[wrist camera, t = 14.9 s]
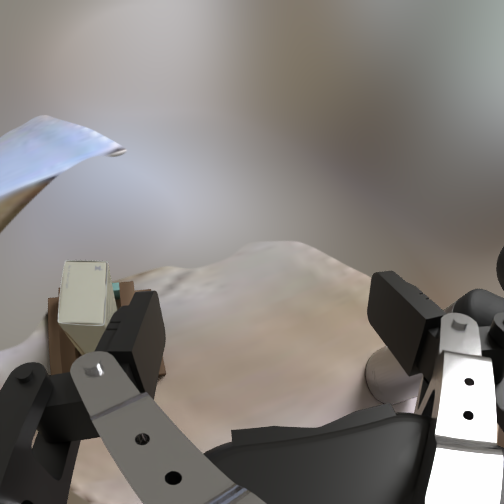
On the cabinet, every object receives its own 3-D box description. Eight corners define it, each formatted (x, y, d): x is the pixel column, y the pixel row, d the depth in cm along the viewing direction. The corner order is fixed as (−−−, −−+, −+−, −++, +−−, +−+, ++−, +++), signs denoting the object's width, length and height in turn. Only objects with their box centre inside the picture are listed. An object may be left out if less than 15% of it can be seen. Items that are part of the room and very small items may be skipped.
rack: (150, 292, 39) (151, 279, 36) (165, 374, 33) (166, 368, 31) (50, 301, 33) (42, 288, 31) (54, 385, 28) (45, 379, 25)
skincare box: (85, 311, 34) (63, 257, 24) (119, 312, 35) (109, 258, 25) (84, 361, 30) (54, 322, 21) (120, 362, 32) (105, 325, 22)
